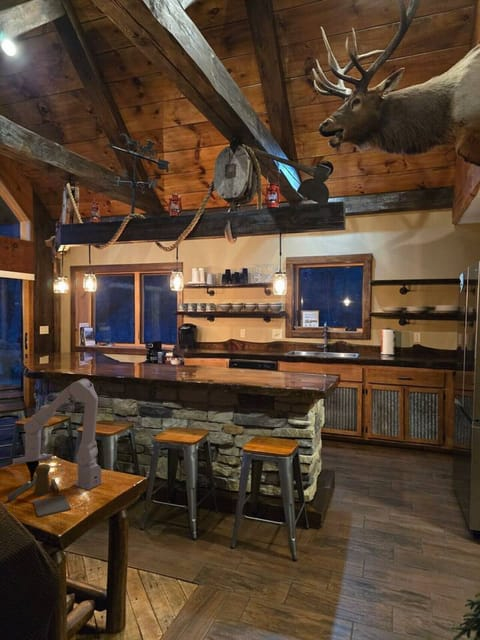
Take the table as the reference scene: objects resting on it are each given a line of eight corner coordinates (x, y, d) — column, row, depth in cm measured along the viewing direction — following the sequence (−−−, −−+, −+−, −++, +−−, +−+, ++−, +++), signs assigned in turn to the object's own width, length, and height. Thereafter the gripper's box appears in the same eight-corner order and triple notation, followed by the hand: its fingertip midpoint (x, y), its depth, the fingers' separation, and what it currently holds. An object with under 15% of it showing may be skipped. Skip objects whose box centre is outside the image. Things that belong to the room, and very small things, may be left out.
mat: (71, 509, 150) (71, 508, 150) (37, 517, 144) (37, 515, 144) (64, 495, 161) (64, 494, 161) (33, 502, 155) (33, 501, 155)
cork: (38, 489, 166) (39, 462, 166) (53, 489, 166) (53, 462, 166) (30, 495, 160) (31, 467, 160) (45, 496, 160) (46, 468, 160)
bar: (11, 501, 154) (11, 494, 154) (6, 500, 155) (6, 494, 155) (39, 480, 173) (39, 474, 173) (35, 480, 174) (35, 474, 173)
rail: (59, 495, 161) (59, 489, 161) (55, 496, 160) (55, 490, 160) (54, 484, 171) (54, 478, 171) (51, 484, 170) (51, 479, 170)
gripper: (50, 441, 179) (49, 472, 179) (12, 446, 171) (11, 478, 171) (52, 446, 173) (51, 478, 173) (14, 451, 165) (12, 484, 165)
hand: (31, 478), depth 172 cm, fingers closed, pressing on bar
